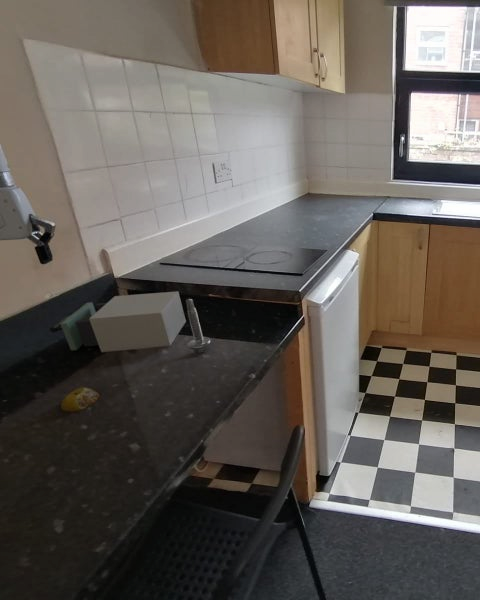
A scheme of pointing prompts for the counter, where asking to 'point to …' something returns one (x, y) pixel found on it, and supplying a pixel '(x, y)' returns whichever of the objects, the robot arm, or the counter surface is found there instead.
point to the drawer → (79, 326)
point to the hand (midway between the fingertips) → (21, 263)
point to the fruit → (79, 399)
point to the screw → (196, 330)
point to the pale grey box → (138, 321)
